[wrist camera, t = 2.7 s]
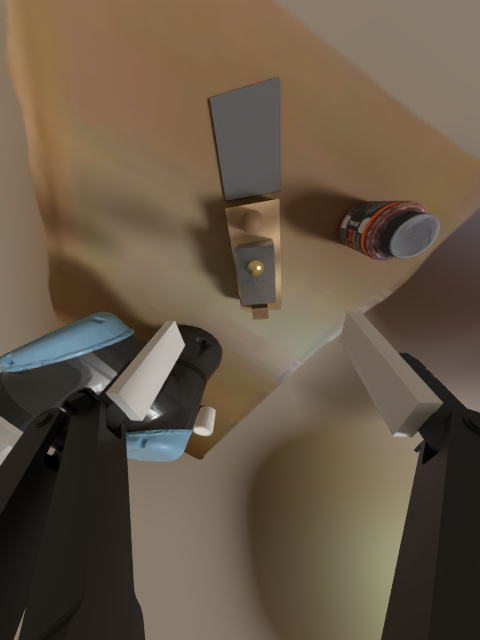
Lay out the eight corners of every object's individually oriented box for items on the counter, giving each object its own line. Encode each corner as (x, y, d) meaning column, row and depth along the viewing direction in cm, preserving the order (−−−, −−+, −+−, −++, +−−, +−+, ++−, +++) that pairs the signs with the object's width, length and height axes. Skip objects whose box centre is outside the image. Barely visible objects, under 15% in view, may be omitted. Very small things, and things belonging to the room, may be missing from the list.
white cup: (196, 411, 62) (189, 432, 57) (202, 402, 59) (195, 424, 53) (213, 417, 64) (208, 438, 58) (220, 409, 60) (215, 431, 54)
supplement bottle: (328, 229, 26) (365, 242, 17) (366, 190, 23) (436, 180, 14) (352, 254, 28) (398, 279, 18) (390, 221, 25) (467, 231, 15)
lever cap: (244, 294, 29) (242, 306, 25) (237, 243, 25) (233, 250, 21) (274, 291, 28) (276, 304, 24) (272, 239, 24) (274, 245, 20)
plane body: (278, 297, 33) (282, 320, 27) (244, 300, 35) (239, 322, 28) (276, 200, 25) (281, 197, 18) (230, 208, 26) (219, 208, 19)
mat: (226, 200, 26) (225, 200, 25) (210, 99, 20) (209, 97, 20) (280, 190, 24) (280, 190, 24) (278, 79, 19) (279, 77, 18)
